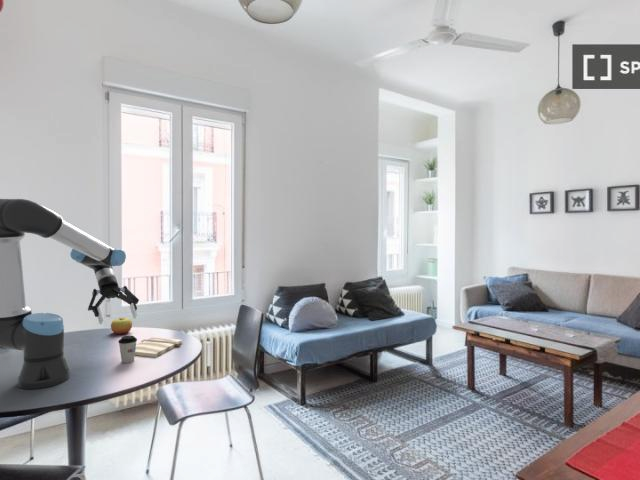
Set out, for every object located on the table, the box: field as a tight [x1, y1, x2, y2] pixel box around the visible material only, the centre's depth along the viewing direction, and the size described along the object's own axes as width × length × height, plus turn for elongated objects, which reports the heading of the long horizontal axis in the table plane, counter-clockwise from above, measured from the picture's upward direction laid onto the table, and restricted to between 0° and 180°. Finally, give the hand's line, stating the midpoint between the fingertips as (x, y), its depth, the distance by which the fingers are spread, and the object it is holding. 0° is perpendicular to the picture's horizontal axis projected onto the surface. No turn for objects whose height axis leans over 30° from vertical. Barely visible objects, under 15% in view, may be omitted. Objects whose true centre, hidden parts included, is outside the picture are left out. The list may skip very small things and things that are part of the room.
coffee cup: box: [118, 335, 138, 364], centre depth 157 cm, size 7×7×10 cm
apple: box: [110, 317, 133, 335], centre depth 197 cm, size 10×10×8 cm
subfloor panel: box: [135, 336, 183, 358], centre depth 174 cm, size 20×19×2 cm
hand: (118, 319), depth 165 cm, fingers open, 13 cm apart
